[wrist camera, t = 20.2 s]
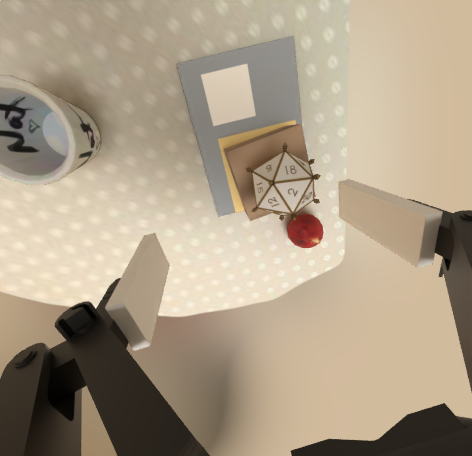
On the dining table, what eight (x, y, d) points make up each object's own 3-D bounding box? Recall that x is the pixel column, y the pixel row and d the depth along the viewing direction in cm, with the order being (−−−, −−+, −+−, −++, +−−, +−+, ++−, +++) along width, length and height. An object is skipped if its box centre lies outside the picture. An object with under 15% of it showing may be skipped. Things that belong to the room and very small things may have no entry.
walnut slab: (223, 149, 33) (226, 152, 28) (285, 125, 33) (301, 124, 28) (243, 208, 37) (250, 220, 32) (299, 187, 37) (315, 196, 32)
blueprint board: (177, 66, 30) (175, 63, 28) (290, 39, 30) (294, 35, 29) (218, 214, 39) (218, 217, 37) (305, 192, 39) (308, 194, 38)
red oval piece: (284, 240, 43) (301, 262, 35) (279, 214, 40) (295, 231, 33) (313, 231, 43) (335, 251, 35) (309, 204, 40) (332, 219, 33)
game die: (274, 162, 33) (339, 137, 25) (281, 219, 33) (347, 212, 25) (224, 160, 27) (285, 127, 19) (233, 228, 28) (298, 223, 20)
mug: (112, 177, 34) (78, 193, 25) (0, 159, 31) (-85, 169, 22) (111, 102, 30) (71, 88, 21) (-17, 74, 28) (-126, 44, 19)
